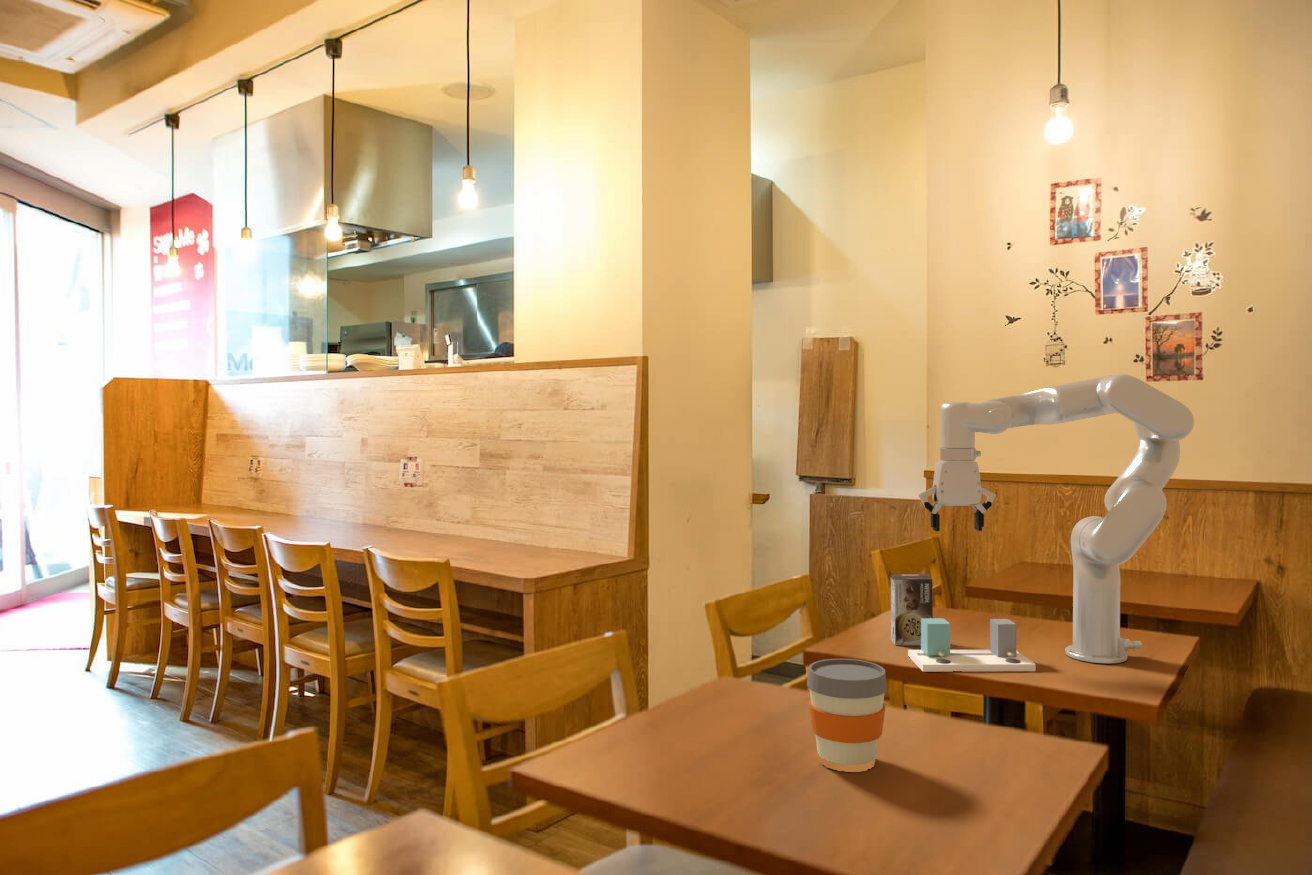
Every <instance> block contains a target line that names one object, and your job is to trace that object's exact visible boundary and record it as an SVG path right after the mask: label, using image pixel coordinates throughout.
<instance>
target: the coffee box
mask: <svg viewBox="0 0 1312 875" xmlns="http://www.w3.org/2000/svg"><path fill="white" fill-rule="evenodd" d="M933 586H934V585H933V578H931V576H930V575H929V574H926V573H921V574H920V573H904V574H903V573H900V574H899V573H896V574H895V573H894V574H893V573H890V640H891V641H892V643H893V645H894V646H920V647H921V618H934V617H933V614H934V606H933V605H934V604H933V602H934V601H933V599H934V598H933V594H934V593H933V592H934V591H933Z"/></svg>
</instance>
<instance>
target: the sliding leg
mask: <svg viewBox="0 0 1312 875" xmlns="http://www.w3.org/2000/svg"><path fill="white" fill-rule="evenodd" d="M920 650H922V651H923V652H924V653H925V654H927V655H940V656H941V657H944V655H950V650H951V623H950V622H949V621H947V620H946V619H945V618H943V617H942V618H940V617H939V618H938V617H937V618H936V617H935V618H934V617H933V618H921V646H920Z"/></svg>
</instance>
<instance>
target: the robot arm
mask: <svg viewBox="0 0 1312 875" xmlns="http://www.w3.org/2000/svg"><path fill="white" fill-rule="evenodd" d="M939 412H940V413H939V414H940V415H939V426H940V428H939V443H940V444H939V447H940V448H939V461H936V462H935V466H934V473H933V479H932V480H933V482H932V483H933V484H932V487H930V488H929V489H926V490H924V491H923V492H921V493H919V494H918V497H919V500H920V501H921V503H922V506H923V507H925V509H926V510H927V511H928V512H929V513H930V527H931V528H932V530H933V531H935V532H940V529H941V528H940V527H941V526H940V524H941V522H940V521H941V520H940V519H941V517H940V516H941V515H940V514H939V511H940V509H942V508H943V506H946V507H947V506H951V507H952V506H953V507H957V506H959V507H961V506H964V507H965V506H972V507H973V508H974V509H975V512H974V530H976V531H979V532H982V531H983V528H984V526H985V514H986V512H987V511H988V509H990V508H991V507H992V506H993V505H992V504H993V502H994V501H995V499H996V497H997V494H996V493H995V492H992V491H990V490H988V489H986V488H984V487H982V484H981V475H980V474H981V472H980V469H979V468H980V467H979V463H978V462H977V461H976V458H977V457H981V456H982V451H981V450H977V449H976V446H975V442H976V438H975V437H976V436H975V433H980V434H981V433H982V434H983V433H984V434H989V435H990V434H991V435H997V434H1002V433H1004V432H1006V431H1007V430H1008V429H1012V428H1019V427H1020V428H1021V427H1024V426H1025V427H1026V426H1035V425H1056V424H1058V425H1060V424H1066V423H1069V422H1075V421H1080V420H1085V419H1091V418H1096V417H1101V416H1106V415H1113V414H1119V415H1121V416H1123V417H1124V418H1126V419H1127V420H1129V421H1131V422H1132V423H1133V426H1134V429H1135V432H1136V434H1137V439H1138V446H1137V450H1136V452H1135V454H1134V456H1133V458H1131V460H1130V462H1128V464H1127V466H1126V467H1125V468H1124V469H1123V471H1122V472H1121V473H1120V474H1119V475H1118V476H1117V478H1116V480H1115V481H1114V482H1113V483H1112V484H1111V485H1110V487H1109V488H1108V489H1107V491H1106V493H1105V495H1104V500H1103V501H1104V506H1105V508H1106V510H1107V511H1108V512H1107V513H1106V514H1105V516H1104V517H1102V516H1096V515H1091V516H1086V517H1084V518H1081V519H1080V520H1079V521H1077V522H1076V524H1075V525H1074V527H1073V528H1072V531H1071V535H1070V547H1071V548H1070V550H1071V555H1072V556H1071V558H1072V567H1073V568H1072V571H1073V575H1072V576H1073V577H1072V578H1073V579H1072V580H1073V583H1072V584H1073V585H1072V586H1073V588H1072V591H1073V592H1072V601H1073V602H1072V607H1073V608H1072V644H1070V645H1068V646H1066V647H1065V649H1064V650H1065V652H1064V653H1065V655H1067V656H1068V657H1070V658H1072V659H1074V660H1078V661H1082V662H1086V663H1087V662H1088V663H1094V664H1095V663H1096V664H1108V665H1109V664H1110V665H1111V664H1121V663H1123V662H1126V661H1127V660H1128V653H1127V651H1129V650H1142V649H1143V643H1142V641H1141V640H1130V638H1129V639H1127V638H1124V637H1121V633H1120V632H1121V628H1120V627H1121V571H1120V565H1122V564H1124V563H1126V562H1128V561H1129V560H1130V559H1131V558H1132V557H1133V556H1134V555H1135V554H1136V553H1137V552H1138V551H1139V549H1140V548H1141V547H1142V545H1143V544H1144V543H1145V542H1146V541H1147V539H1148V538H1149V537H1150V535H1151V534H1152V533H1153V532H1154V531H1155V529H1156V528H1157V526H1158V525H1159V524H1160V523H1161V521H1162V520H1163V519H1164V516H1165V514H1166V512H1167V511H1166V510H1167V507H1168V506H1167V505H1168V504H1167V502H1168V501H1167V497H1166V494H1165V492H1164V491H1163V489H1164V487H1165V486H1166V485H1167V484H1168V482H1169V480H1170V479H1171V478H1172V476H1173V475H1174V473H1175V471H1176V470H1177V467H1178V466H1179V464H1180V457H1181V446H1180V441H1181V440H1183V439H1185V438H1187V436H1189V435H1190V434H1191V432H1192V430H1193V428H1194V425H1195V420H1194V415H1193V413H1192V411H1191V409H1189V407H1188V406H1187V405H1185V404H1184V403H1182V402H1180V401H1178V400H1177V399H1175V398H1173V397H1172V396H1170V395H1168V394H1166V393H1164V392H1163V391H1161V390H1159V389H1158V388H1156V387H1154V386H1152V385H1150V384H1148V383H1147V382H1145V381H1144V380H1141V379H1140V378H1138V377H1135V376H1133V375H1130V374H1113V375H1105V376H1099V377H1095V378H1090V379H1084V380H1080V381H1074V382H1068V383H1065V384H1058V385H1057V384H1056V385H1053V386H1048V387H1043V388H1039V389H1037V390H1034V391H1029V392H1025V393H1019V394H1014V395H1010V396H1003V397H999V398H994V399H989V400H988V399H987V400H983V401H980V402H975V403H971V402H967V401H964V402H963V401H951V402H944V403H942V404H941V406H940V410H939ZM982 495H984V496H986V500H985V501H984V502H983V503H981V502H982ZM930 496H932V501H933V503H932V504H931V503H930V501H929V500H928V498H929V497H930Z"/></svg>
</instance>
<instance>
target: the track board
mask: <svg viewBox="0 0 1312 875" xmlns="http://www.w3.org/2000/svg"><path fill="white" fill-rule="evenodd" d="M908 656H909V657H910V658H909V657H908ZM907 657H908V658H909V659H910V660H911V661H912V662H913V664H915V665H916V666H917V667H918V668H919V669H920V670H921V671H922V672H923V673H924V672H925V673H926V672H927V673H928V672H930V673H931V672H933V673H935V672H936V673H937V672H939V673H940V672H941V673H942V672H945V673H946V672H953V671H962V672H1036V668H1037V667H1036V665H1037V664H1036V662H1035V663H1034V662H1033V661H1032V660H1031V659H1029V658H1028V657H1026V656H1024V655H1023V654H1021V653H1020V652H1019V651H1018V650H1017V624H1016V623H1015V622H1014V621H1012V620H1011V619H1009V618H990V619H989V648H987V649H986V648H985V649H981V648H980V649H978V648H977V649H973V648H970V649H965V648H964V649H950V655H944V657H941V656H940V655H927V654H925V653H924V652H923V651H922V650H921V649H907Z"/></svg>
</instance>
